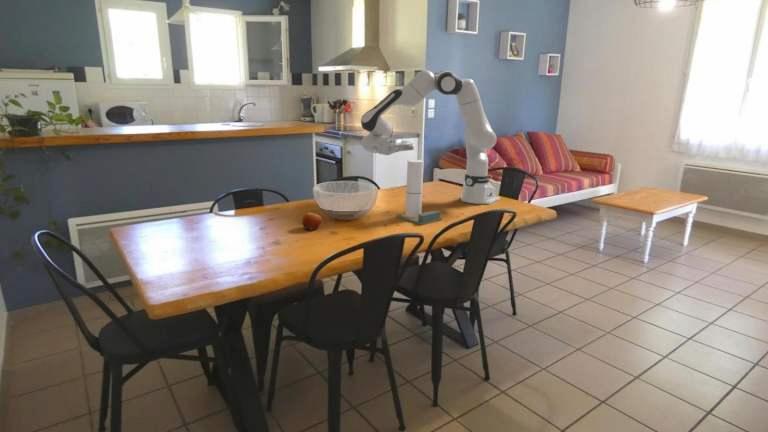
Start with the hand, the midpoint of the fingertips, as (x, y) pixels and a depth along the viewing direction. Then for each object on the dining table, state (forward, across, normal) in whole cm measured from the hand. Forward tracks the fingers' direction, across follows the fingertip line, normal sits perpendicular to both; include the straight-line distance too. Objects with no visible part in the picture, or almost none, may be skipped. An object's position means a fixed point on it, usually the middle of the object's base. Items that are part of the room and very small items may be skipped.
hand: (405, 149), depth 220 cm
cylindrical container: (+15, -9, +28) cm, 33 cm away
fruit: (+1, -55, +29) cm, 62 cm away
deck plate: (+18, -8, +29) cm, 35 cm away
